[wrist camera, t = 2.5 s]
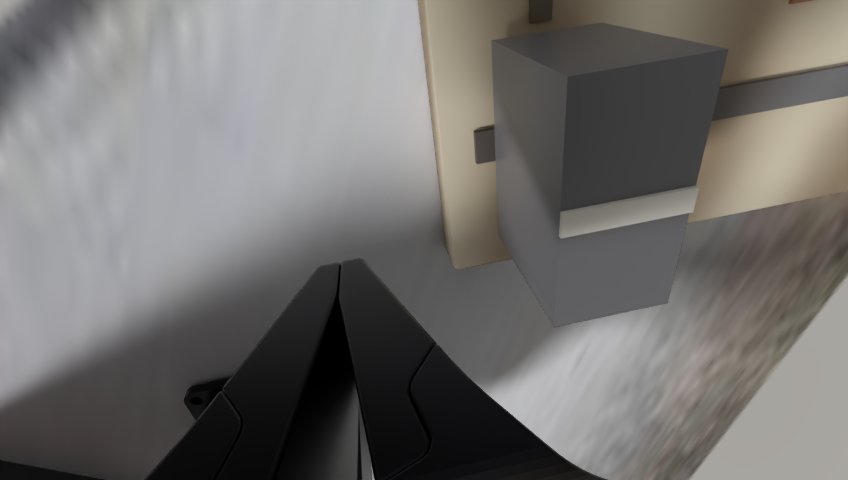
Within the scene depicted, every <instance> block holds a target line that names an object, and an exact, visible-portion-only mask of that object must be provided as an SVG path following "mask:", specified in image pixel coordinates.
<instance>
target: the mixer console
mask: <svg viewBox="0 0 848 480" xmlns="http://www.w3.org/2000/svg"><path fill="white" fill-rule="evenodd" d="M418 7H419V15H420V24H421V33H422V41H423V50H424V59H425V68H426V76H427V85H428V94H429V102H430V111H431V120H432V128H433V137H434V146H435V154H436V163H437V172H438V180H439V189H440V198H441V207H442V215H443V224H444V233H445V241H446V248H447V251H448V254H449V256H450V259H451V261H452V264H453V267H454V269H455V270H458V269H463V268H468V267H473V266H478V265H483V264H488V263H493V262H498V261H503V260H508V259H513V258H512V257H511V255H510V253H509V252H508V250H507V248H506V247H505V245H504V243H503V242H502V240H501V238H500V237H499V235H498V214H497V186H496V158H495V130H494V102H493V74H492V46H491V40H497V39H503V38H509V37H515V36H521V35H527V34H533V33H539V32H545V31H552V30H558V29H564V28H570V27H576V26H582V25H588V24H594V23H601V22H602V23H607V24H611V25H616V26H621V27H626V28H631V29H635V30H640V31H645V32H650V33H655V34H660V35H664V36H669V37H674V38H679V39H684V40H689V41H693V42H698V43H703V44H708V45H713V46H718V47H722V48H727V49H729V50H728V54H727V59H726V63H725V67H724V71H723V75H722V79H721V84H720V88H719V92H718V96H717V100H716V104H715V109H714V113H713V117H712V121H711V125H710V129H709V133H708V138H707V142H706V146H705V150H704V154H703V158H702V163H701V167H700V171H699V175H698V179H697V183H696V186H698V187H699V191H698V195H697V199H696V203H695V207H694V211H693V212H692V213H689V217H688V221H687V223H692V222H696V221H701V220H706V219H711V218H716V217H721V216H726V215H731V214H736V213H741V212H746V211H751V210H756V209H761V208H766V207H771V206H776V205H781V204H786V203H791V202H796V201H801V200H806V199H811V198H815V197H820V196H825V195H830V194H835V193H840V192H845V191H848V0H418Z"/></svg>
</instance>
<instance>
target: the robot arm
mask: <svg viewBox="0 0 848 480" xmlns="http://www.w3.org/2000/svg"><path fill="white" fill-rule="evenodd" d="M184 403H185V405H186V406H187V408H188V409H189V411H190V412H191V414H192V415H193V417H194V418H195V420H196V421H195V423H194V424H193V425H192V426H191V427H190V429H189V430H188V431H187V432H186V433H185V435H184V436H183V437H182V438H181V439H180V440H179V442H178V443H177V444H176V445H175V446H174V447H173V448H172V449H171V450H170V452H169V453H168V454H167V455H166V456H165V457H164V458H163V459H162V460H161V462H160V463H159V464H158V465H157V466H156V467H155V468H154V469H153V470H152V472H151V473H150V474H149V475H148V476H147V477H146V478H145V479H144V480H372V471H371V463H372V468H373V473H374V478H375V480H607V479H604V478H601V477H598V476H596V475H593V474H591V473H589V472H587V471H585V470H583V469H581V468H579V467H578V466H576V465H574V464H573V463H571V462H569V461H568V460H566V459H565V458H564V457H562V456H561V455H559V454H558V453H557V452H556V451H554V450H553V449H552V448H551V447H549V446H548V445H547V444H546V443H544V442H543V441H542V440H541V439H540V438H539V437H537V436H536V435H535V434H534V433H533V432H531V431H530V430H529V429H528V428H527V427H525V426H524V425H523V424H522V423H521V422H520V421H518V420H517V419H516V418H515V417H514V416H512V415H511V414H510V413H509V412H508V411H506V410H505V409H504V408H503V407H502V406H500V405H499V404H498V403H497V402H496V401H495V400H493V399H492V398H491V397H490V396H489V395H488V394H486V393H485V392H484V391H483V390H482V389H481V388H480V387H479V386H477V385H476V384H475V383H474V382H473V381H472V380H471V379H470V378H469V377H467V376H466V374H465V373H464V372H463V371H462V370H461V369H460V368H459V367H458V366H457V365H456V364H455V363H454V362H453V361H452V360H451V359H450V358H449V357H448V355H447V354H446V353H445V352H444V351H443V350H442V349H441V348H440V346H438V345H437V344H436V342H435V341H434V340H433V339H432V338H431V336H430V335H429V334H428V333H427V332H426V331H425V330H424V329H423V327H422V326H421V325H420V324H419V323H418V322H417V321H416V319H415V318H414V317H413V316H412V315H411V314H410V313H409V311H408V310H407V309H406V308H405V307H404V306H403V305H402V304H401V302H400V301H399V300H398V299H397V298H396V297H395V296H394V294H393V293H392V292H391V291H390V290H389V289H388V288H387V286H386V285H385V284H384V283H383V282H382V281H381V280H380V278H379V277H378V276H377V275H376V274H375V273H374V272H373V271H372V269H371V268H370V267H369V266H368V265H367V264H366V263H365V261H364V260H363V259H361V258H358V259H353V260H348V261H344V262H342V263H341V264H340V263H333V264H327V265H322V266H320V267H318V268H317V270H316V271H315V272H314V273H313V275H312V276H311V277H310V278H309V280H308V281H307V282H306V283H305V285H304V286H303V287H302V289H301V290H300V291H299V292H298V294H297V295H296V296H295V297H294V299H293V300H292V301H291V302H290V304H289V305H288V306H287V307H286V309H285V310H284V311H283V312H282V314H281V315H280V316H279V318H278V319H277V320H276V321H275V323H274V324H273V325H272V326H271V328H270V329H269V330H268V331H267V333H266V334H265V335H264V336H263V338H262V339H261V340H260V342H259V343H258V344H257V345H256V347H255V348H254V349H253V350H252V352H251V353H250V354H249V355H248V357H247V358H246V359H245V360H244V362H243V363H242V364H241V365H240V367H239V368H238V369H237V371H236V372H235V373H234V374H233V376H232V377H231V378H228V379H223V380H219V381H214V382H209V383H205V384H200V385H195V386H192V387H190V388H189V389H188V390H187V393H186V396H185V398H184Z"/></svg>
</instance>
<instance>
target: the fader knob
mask: <svg viewBox="0 0 848 480" xmlns="http://www.w3.org/2000/svg"><path fill="white" fill-rule="evenodd" d="M491 46H492V74H493V102H494V130H495V158H496V186H497V214H498V235H499V237H500V238H501V240H502V242H503V243H504V245H505V247H506V248H507V250H508V252H509V253H510V255H511V257H512V258H513V260H514V262H515V263H516V265H517V267H518V268H519V270H520V272H521V273H522V275H523V277H524V278H525V280H526V282H527V283H528V285H529V287H530V288H531V290H532V292H533V293H534V295H535V297H536V298H537V300H538V302H539V303H540V305H541V307H542V308H543V310H544V312H545V313H546V315H547V317H548V318H549V320H550V322H551V323H552V325H553V327H558V326H563V325H568V324H572V323H577V322H582V321H586V320H591V319H596V318H600V317H605V316H609V315H614V314H619V313H623V312H628V311H633V310H637V309H642V308H647V307H651V306H656V305H661V304H665V303H668V300H669V296H670V292H671V287H672V283H673V279H674V275H675V271H676V267H677V262H678V258H679V254H680V250H681V246H682V242H683V238H684V233H685V229H686V225H687V221H688V217H689V213H692V212H693V211H694V207H695V203H696V199H697V195H698V191H699V187H698V186H696V183H697V179H698V175H699V171H700V167H701V163H702V158H703V154H704V150H705V146H706V142H707V138H708V133H709V129H710V125H711V121H712V117H713V113H714V109H715V104H716V100H717V96H718V92H719V88H720V84H721V79H722V75H723V71H724V67H725V63H726V59H727V54H728V50H729V49H727V48H722V47H718V46H713V45H708V44H703V43H698V42H693V41H689V40H684V39H679V38H674V37H669V36H664V35H660V34H655V33H650V32H645V31H640V30H635V29H631V28H626V27H621V26H616V25H611V24H607V23H602V22H601V23H594V24H588V25H582V26H576V27H570V28H564V29H558V30H552V31H545V32H539V33H533V34H527V35H521V36H515V37H509V38H503V39H497V40H491Z"/></svg>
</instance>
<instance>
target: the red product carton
mask: <svg viewBox="0 0 848 480" xmlns="http://www.w3.org/2000/svg"><path fill="white" fill-rule="evenodd" d="M0 480H103V479H98V478H92V477H87V476H81V475H76V474H71V473H65V472H60V471H55V470H49V469H44V468H39V467H33V466H28V465H22V464H17V463H12V462H6V461H1V460H0Z"/></svg>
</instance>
